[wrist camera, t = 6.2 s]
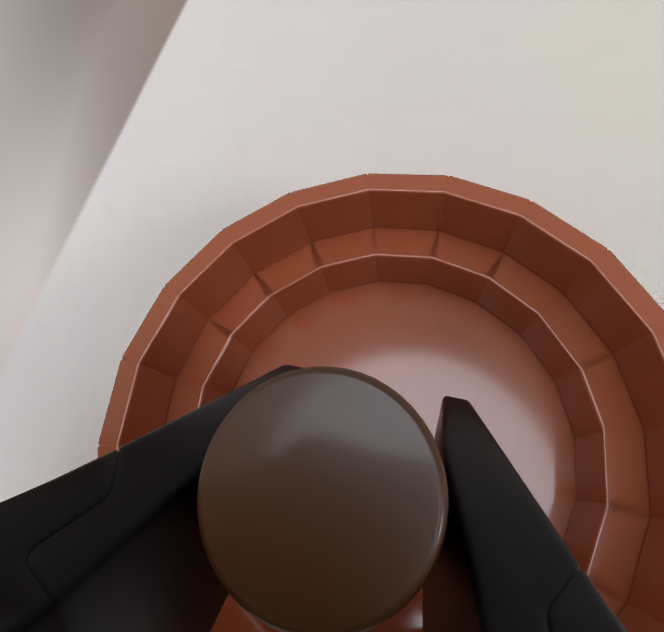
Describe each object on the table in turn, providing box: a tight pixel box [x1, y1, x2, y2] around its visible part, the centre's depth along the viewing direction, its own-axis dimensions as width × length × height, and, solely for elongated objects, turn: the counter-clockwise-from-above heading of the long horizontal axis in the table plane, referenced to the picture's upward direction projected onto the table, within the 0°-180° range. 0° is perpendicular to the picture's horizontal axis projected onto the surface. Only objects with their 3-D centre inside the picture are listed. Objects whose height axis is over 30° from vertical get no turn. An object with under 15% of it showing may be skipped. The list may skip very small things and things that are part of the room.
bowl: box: [98, 174, 664, 632], centre depth 13 cm, size 14×14×5 cm
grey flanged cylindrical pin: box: [197, 366, 449, 632], centre depth 9 cm, size 4×4×10 cm
